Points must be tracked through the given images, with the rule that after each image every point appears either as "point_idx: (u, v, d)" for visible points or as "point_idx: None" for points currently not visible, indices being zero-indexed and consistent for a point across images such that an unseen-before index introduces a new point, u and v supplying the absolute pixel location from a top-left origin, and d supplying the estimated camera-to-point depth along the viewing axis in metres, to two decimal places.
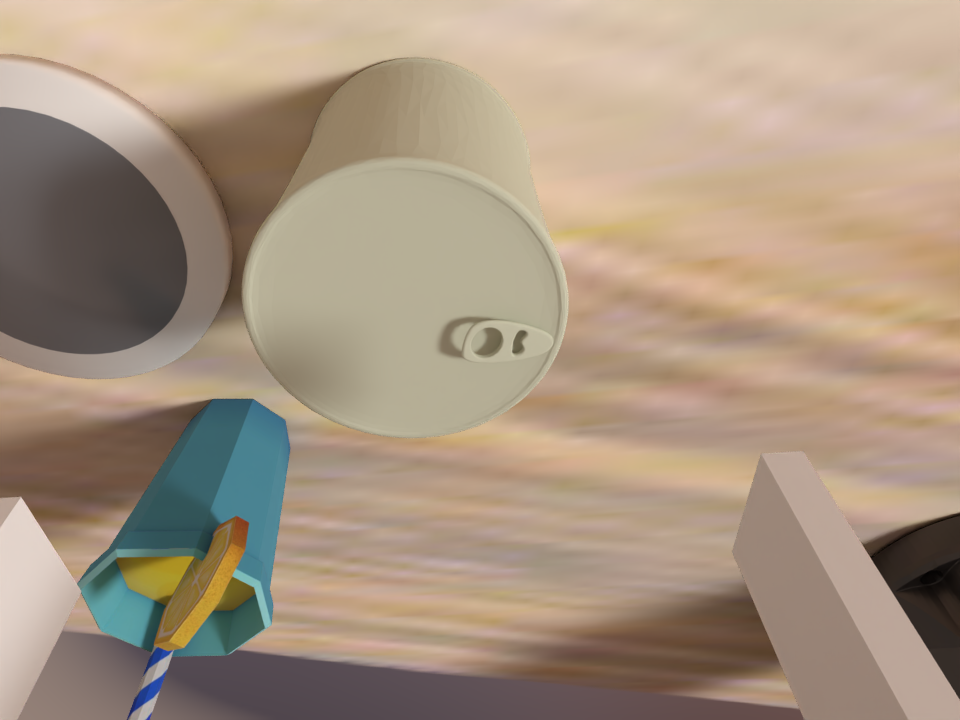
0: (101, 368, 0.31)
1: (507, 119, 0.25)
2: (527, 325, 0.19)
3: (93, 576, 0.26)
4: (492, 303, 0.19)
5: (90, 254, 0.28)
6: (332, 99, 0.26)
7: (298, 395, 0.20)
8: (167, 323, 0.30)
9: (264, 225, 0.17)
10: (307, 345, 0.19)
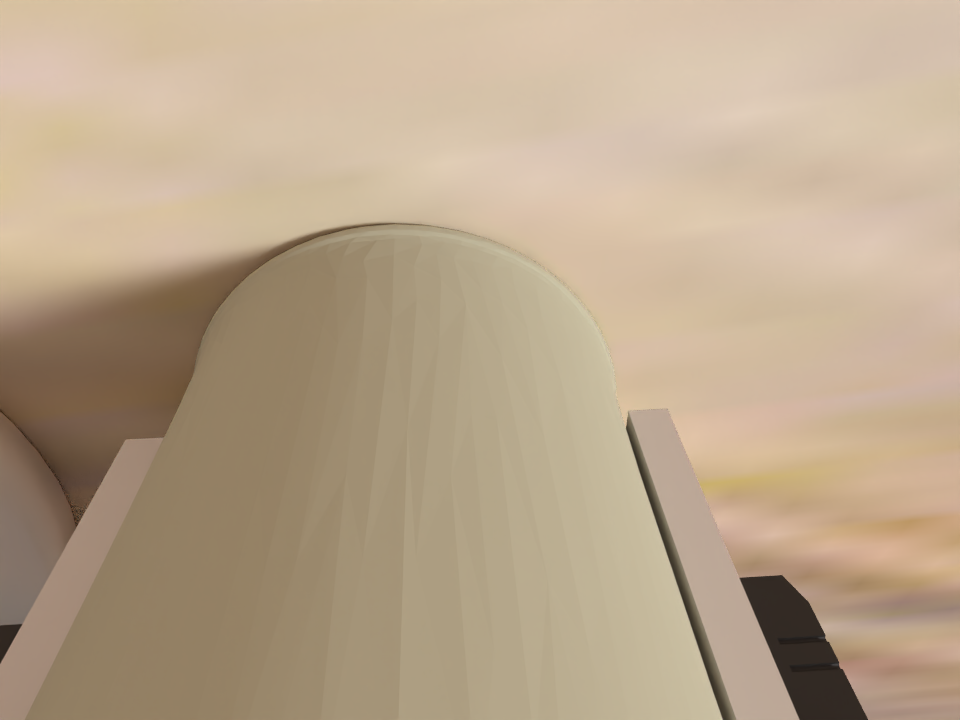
0: None
1: (590, 359, 0.12)
2: None
3: None
4: None
5: None
6: (230, 303, 0.13)
7: None
8: None
9: None
10: None
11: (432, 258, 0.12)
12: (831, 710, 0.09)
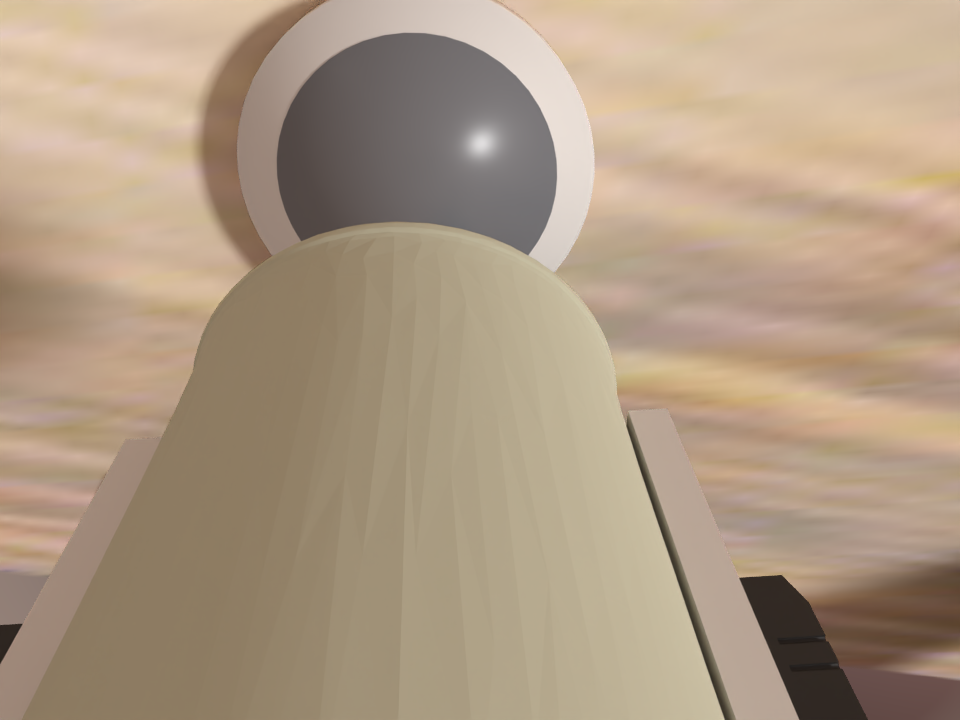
0: None
1: (591, 357, 0.12)
2: None
3: None
4: None
5: (459, 195, 0.27)
6: (229, 301, 0.13)
7: None
8: None
9: None
10: None
11: (432, 256, 0.12)
12: (831, 710, 0.09)
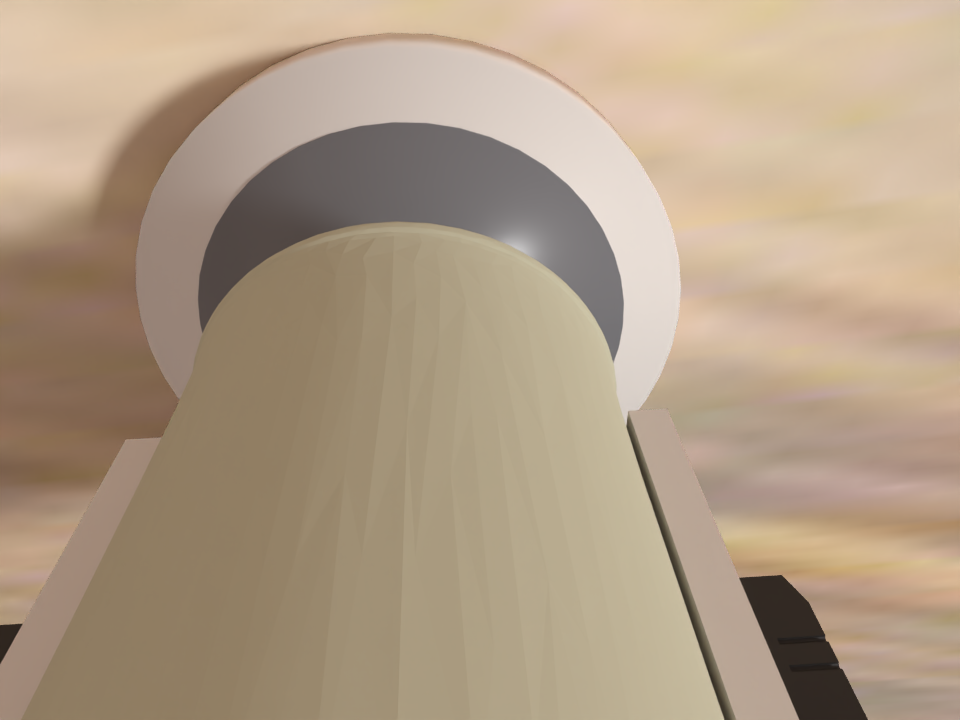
0: None
1: (591, 357, 0.12)
2: None
3: None
4: None
5: None
6: (229, 301, 0.13)
7: None
8: None
9: None
10: None
11: (432, 255, 0.12)
12: (831, 710, 0.09)
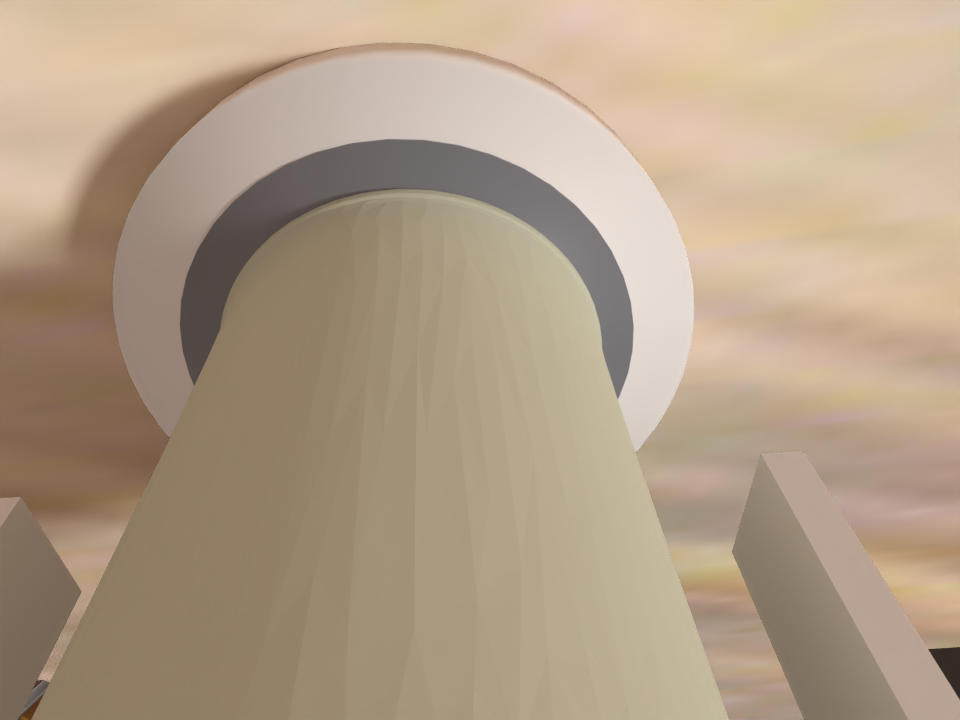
0: None
1: (577, 308, 0.14)
2: None
3: None
4: None
5: None
6: (255, 260, 0.14)
7: None
8: None
9: None
10: None
11: (436, 217, 0.13)
12: None
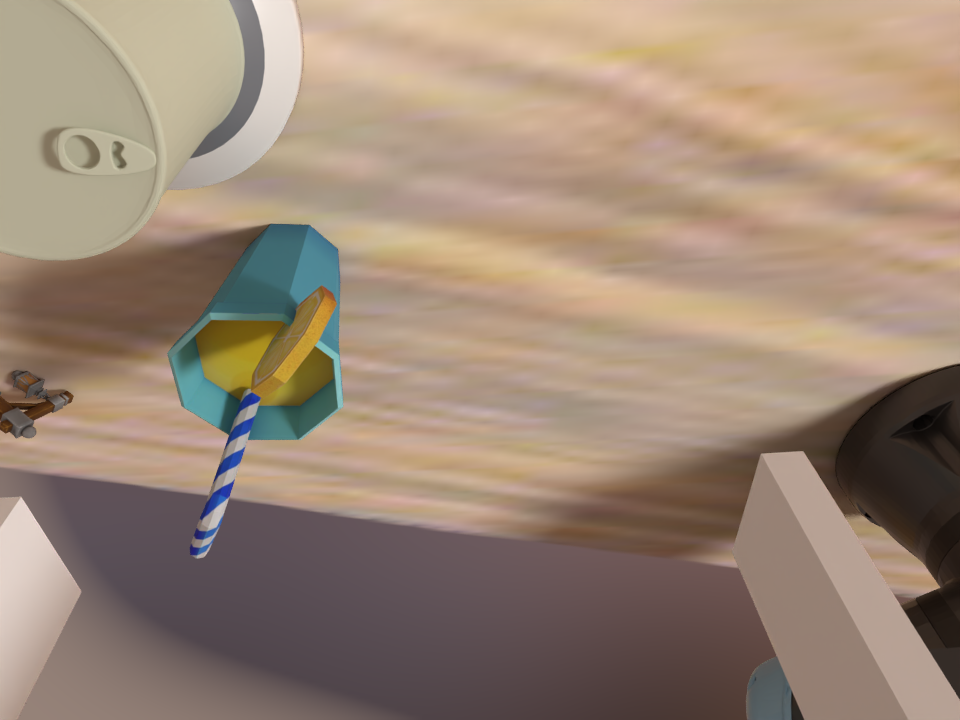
0: None
1: None
2: (122, 137, 0.20)
3: (185, 342, 0.28)
4: (82, 113, 0.20)
5: None
6: None
7: None
8: (239, 129, 0.32)
9: None
10: None
11: None
12: None
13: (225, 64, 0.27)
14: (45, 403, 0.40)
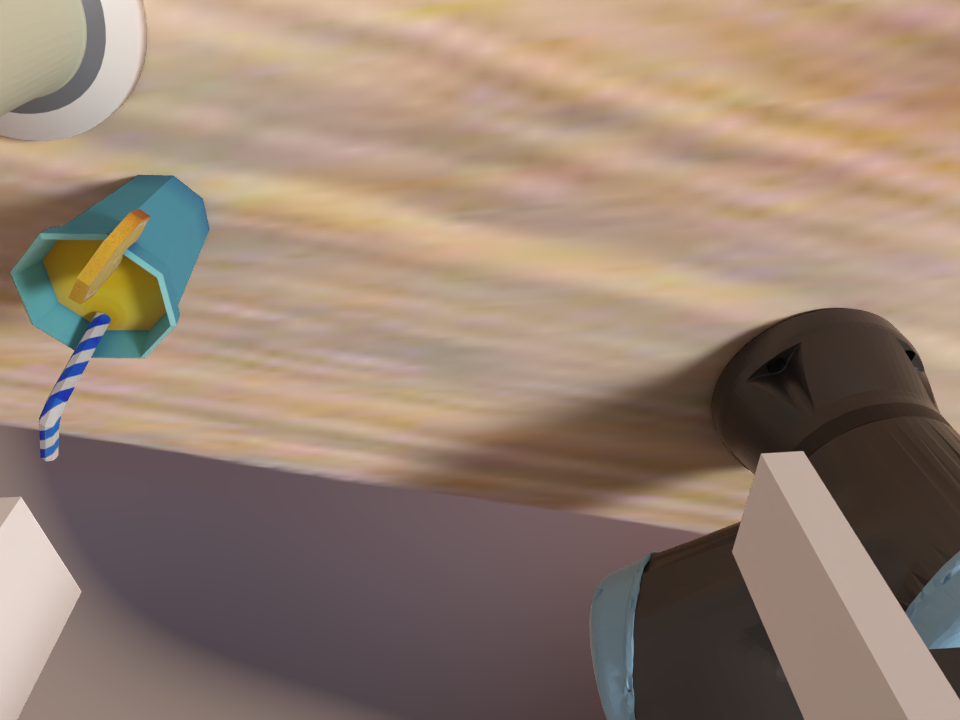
0: (38, 129, 0.37)
1: None
2: None
3: (23, 261, 0.32)
4: None
5: None
6: None
7: None
8: (91, 83, 0.36)
9: None
10: None
11: None
12: None
13: (54, 18, 0.31)
14: None
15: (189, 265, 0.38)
